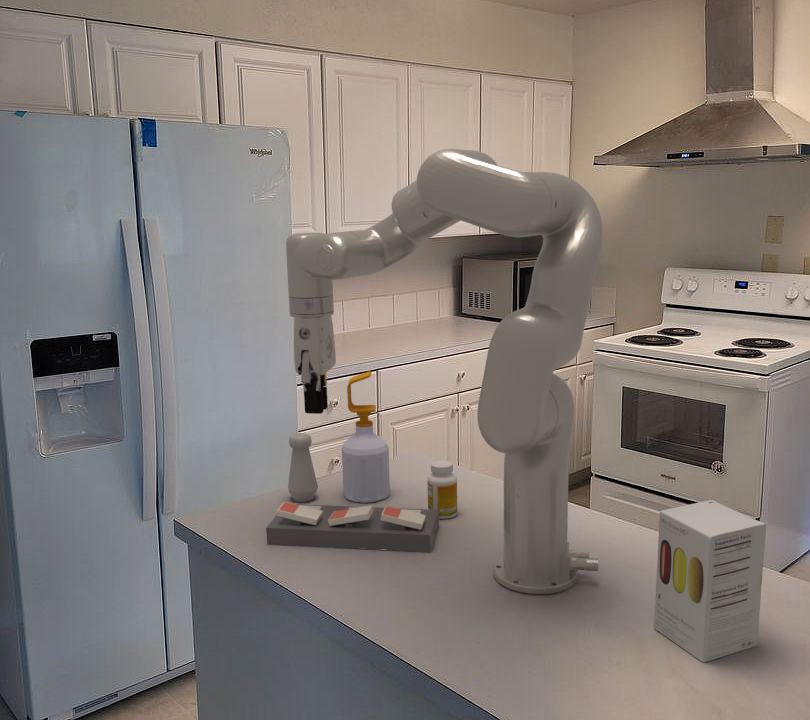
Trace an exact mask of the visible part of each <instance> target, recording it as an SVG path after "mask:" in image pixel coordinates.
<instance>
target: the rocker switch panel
mask: <svg viewBox="0 0 810 720" xmlns="http://www.w3.org/2000/svg"><path fill="white" fill-rule="evenodd" d="M296 504H297V505H301V506H305V507H309V508H313V509H317V510H321V511H323V514H322V517H321V518H320V520H319V521H318V523H317V524H316V525H313V524H308V523H304V522H300V521H296V520H292V519H288V518H284V517H280V516H276V515H275V517H274V518H273V519H272V521H270V523H268V525H267V526H266V528H265V529H266V530H265V531H266V544H267V545H269V546H270V545H272V546H273V545H274V546H291V547H292V546H293V547H310V546H311V547H312V546H313V547H315V548H332V547H333V549H334V548H335V549H351V548H366V549H365V550H372V549H387V550H386V551H392V550H401V551H400V552H413V551H414V553H415V552H416V553H417V552H418V553H432V549H433V546H434V543H435V540H436V537H437V533H438V531H439V527H440V519H439V510H429V509H428V508H425V509H424V508H402V507H401V508H399V507H397V508H398V509H402V510H407V511H411V512H415V513H419V514H423V515H426V516H425V521H424V524H423V526H422V529H421V530H419V529H415V528H411V527H407V526H403V525H399V524H395V523H391V522H387V521H383V520H380V519H381V514H382V512H383V510H384V508H385V507H379V506H377V507H374V506H373V510H374V511H373V513H372V515H371V516H370V518H369V520H362V521H356V522H350V523H344V524H338V525H332V526H329V523H328V519H329V518H330V516H331V515H332V513H333V512H334V511H339V510H345V509H351V508H357V507H358V506H353V505H352V506H351V505H350V506H348V505H325V504H323V505H322V504H321V505H320V504H300V503H299V504H298V503H296ZM313 547H312V548H313Z"/></svg>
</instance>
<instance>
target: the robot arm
mask: <svg viewBox="0 0 810 720" xmlns="http://www.w3.org/2000/svg"><path fill="white" fill-rule="evenodd" d="M391 211H392V214H390V215H388V216H387V217H385V218H384V219H383V220H380V221H379V222H377V223H375V224H374V225H372V226H370V227H367V228H366V229H363V230H362V229H360V230H359V229H358V230H350V231H340V232H329V233H322V232H299V233H293V234H290V235H289V236H288V237H287V238H286V241H285V252H286V269H287V287H288V289H287V290H288V292H287V293H288V308H289V317H291V318H293V320H294V321H293V359H294V369H295V370H294V371H295V372H296V374H297V375H299V376H300V377H301V379H300V382H301V384H302V386H303V389H302V390H303V395H304V396H303V398H304V399H303V401H304V412H305V414H316V415H320V414H323V413H324V410H325V411H326V410H327V409H328V407H329V406H328V405H329V404H328V386H327V384H328V381H327V379H328V378H327V372H329V371H331V369H333V368H334V367H335V365H336V363H337V357H336V356H337V355H336V345H335V332H334V324H333V317H332V316H333V315H334V314H335V307H334V289H333V288H334V287H333V286H334V285H333V283H334V281H333V280H346V279H351V278H355V277H360V276H361V277H362V276H368V275H373V274H376V273H379V272H381V271H384V270H385V269H387V268H389V267H391V266H392V265H394V264H396V263H399V262H400V261H401V260H402V261H403V259H405V258H407V257H408V256H410V255H412V254H413V253H414V252H416V251H417V250H418V248H420V247H421V246H422V245H423V244H424V243H425V241H428V239H430V238H432V237H434V236H436V235H438V234H439V233H441V232H443V231H445V230H447V229H448V228H450V227H452V226H454V225H456V224H458V223H459V222H464V223H467V224H470V225H473V226H476V227H479V228H482V229H484V230H487V231H490V232H493V233H495V234H499V235H502V236H506V237H512V238H526V237H533V236H534V237H535V236H539V235H540V236H541V237H542V246H541V249H540V251H539V254H538V256H537V259H536V261H535V263H534V267H533V270H532V275H531V281H530V286H529V292H528V295H527V299H526V303H525V305H524V307H523V308H519V309H517V310H514V311H512V312H510V313H508V314H507V315H506V316H505V317H503V319H501V320H500V322H499V323H498V325H497V326H496V328H495V330H494V332H493V333H492V336H491V339H490V341H489V346H488V350H487V355H486V360H485V366H484V371H483V376H482V377H483V378H482V380H481V381H482V382H481V387H480V393H479V397H478V404H477V424H478V428H479V431H480V434H481V436H482V438H483V440H484V441H485V442H486V443H487V445H489V447H491V448H492V449H493V450H495V451H497V452H499V453H502V454H504V458H503V556H502V557H501V558H499V559H498V560H496V562H495V563H494V565H493V577H494V578H495V580H496V582H498V583H499V585H501V586H503V587H505V588H506V589H510V590H512V591H515V592H519V593H524V594H531V595H546V594H547V595H549V594H554V593H555V594H556V593H559V592H563V591H565V590H568V589H570V588H571V587H572V586H574V584H575V583H576V582H577V579H578V571H586V572H599V557H590V552H583V551H582V552H581V551H580V552H577V551H575V552H574V550H572V549H571V550H570V542H569V541H568V525H569V524H568V519H569V517H568V516H569V513H568V512H569V507H568V506H569V475H570V474H569V472H570V471H569V469H570V467H569V466H570V465H569V463H570V448H571V441H572V433H573V426H574V419H575V402H574V401H575V400H574V397H573V394H572V391H571V388H570V387H569V385H568V384H567V383H566V381H564V379H562V378H561V377H560V376H558V375H557V374H555V373H554V372H555V370H557V369H560V368H561V367H564V366H565V365H567V364H569V363H570V362H571V361H572V360H573V359H575V358H576V357H577V355H578V354H579V352H580V349H581V347H582V346H581V345H582V341H583V337H584V331H585V327H586V321H587V317H588V312H589V308H590V304H591V298H592V294H593V288H594V283H595V277H596V273H597V268H598V265H599V264H598V263H599V259H600V255H601V250H602V246H603V245H602V243H603V223H602V216H601V213H600V209H599V207H598V205H597V203H596V202H595V200H594V198H593V197H592V195H591V194H590V193H589V192H588V191H587V189H585V187H583V186H582V185H581V184H580V183H578V182H577V181H575V180H574V179H572V178H570V177H569V176H567V175H564V174H560V173H555V172H548V171H547V172H546V171H537V172H536V171H535V172H534V171H519V170H515V169H512V168H509V167H504V166H501V165H498V163H497V161H495V160H494V159H493V157H491V156H489V155H488V154H486V153H484V152H482V151H479V150H473V149H458V148H457V149H456V148H445V149H440V150H437V151H436V152H433V153H432V154H430V155H429V156H428V157H427V158H426V159H425V160H424V161H423V162H422V164H421V165H420V167H419V169H418V172H417V175H416V180H414V181H413V182H411V183H409V184H408V185H406V186H404V187H403V188H401V189H400V190H398V191H397V192H396V193H394V195H393V197H392V200H391Z"/></svg>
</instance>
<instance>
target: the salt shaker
mask: <svg viewBox="0 0 810 720" xmlns="http://www.w3.org/2000/svg"><path fill="white" fill-rule="evenodd" d="M288 443H289V447H290V448H291V449H292V451H291V459H290V465H289V467H290V468H289V475H288V483H287V489H288V492H289V494H290V496H291V498H292V499H293V501H294V502H295V503H307V502H306V501H308V502H311V501H313V500H314V497H315V495H316V493H317V491H318V488H319V485H318V480H317V477H316V473H315V469H314V463H313V459H312V456H311V452H310V447H311V445H312V437H311V435H310V434H309V433H306V432H305V433H304V432H297V433H294V434H291V436H290V437H289V438H288Z"/></svg>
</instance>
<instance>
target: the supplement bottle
mask: <svg viewBox="0 0 810 720" xmlns="http://www.w3.org/2000/svg"><path fill="white" fill-rule="evenodd" d="M430 471H431V473H429V475H428V476H427V509H429V510H439V520H447V519H448V520H449V519H452V518H454V517H456V516H457V515H458V478H457V476H456V474H455V473H453V471H454V464H453V462H451V461H449V460H436V461H435V460H434V461H432V462H431V463H430Z"/></svg>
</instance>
